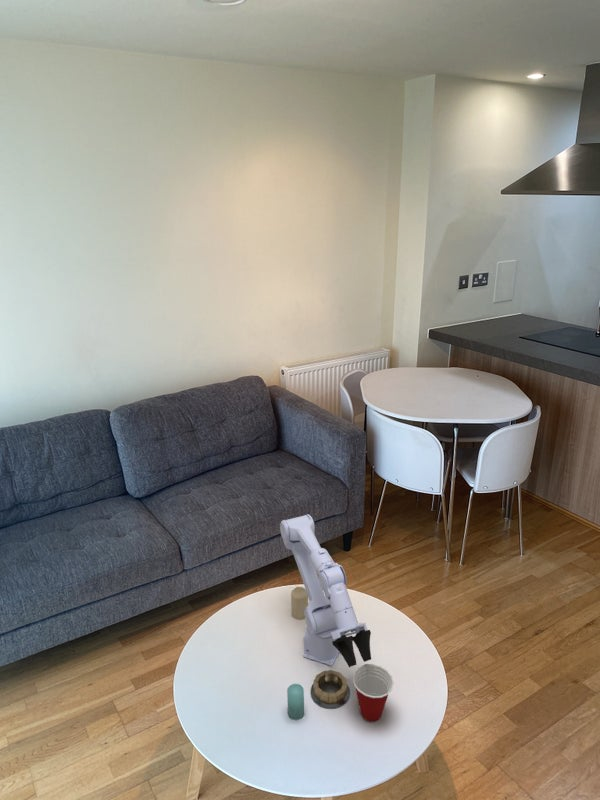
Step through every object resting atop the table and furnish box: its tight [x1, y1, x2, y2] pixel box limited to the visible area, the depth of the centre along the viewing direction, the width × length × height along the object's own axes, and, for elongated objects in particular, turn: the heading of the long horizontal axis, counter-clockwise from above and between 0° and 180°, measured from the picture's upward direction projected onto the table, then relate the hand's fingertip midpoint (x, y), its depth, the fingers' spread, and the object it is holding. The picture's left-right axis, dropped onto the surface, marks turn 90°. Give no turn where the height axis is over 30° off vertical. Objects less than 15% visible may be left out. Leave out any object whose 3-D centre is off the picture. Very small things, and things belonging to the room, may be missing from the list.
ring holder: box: [310, 669, 351, 710], centre depth 165 cm, size 11×11×3 cm
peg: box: [286, 683, 305, 721], centre depth 158 cm, size 4×4×8 cm
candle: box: [290, 586, 309, 621], centre depth 195 cm, size 6×6×10 cm
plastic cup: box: [352, 663, 395, 723], centre depth 157 cm, size 11×11×12 cm
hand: (360, 663), depth 155 cm, fingers open, 7 cm apart
